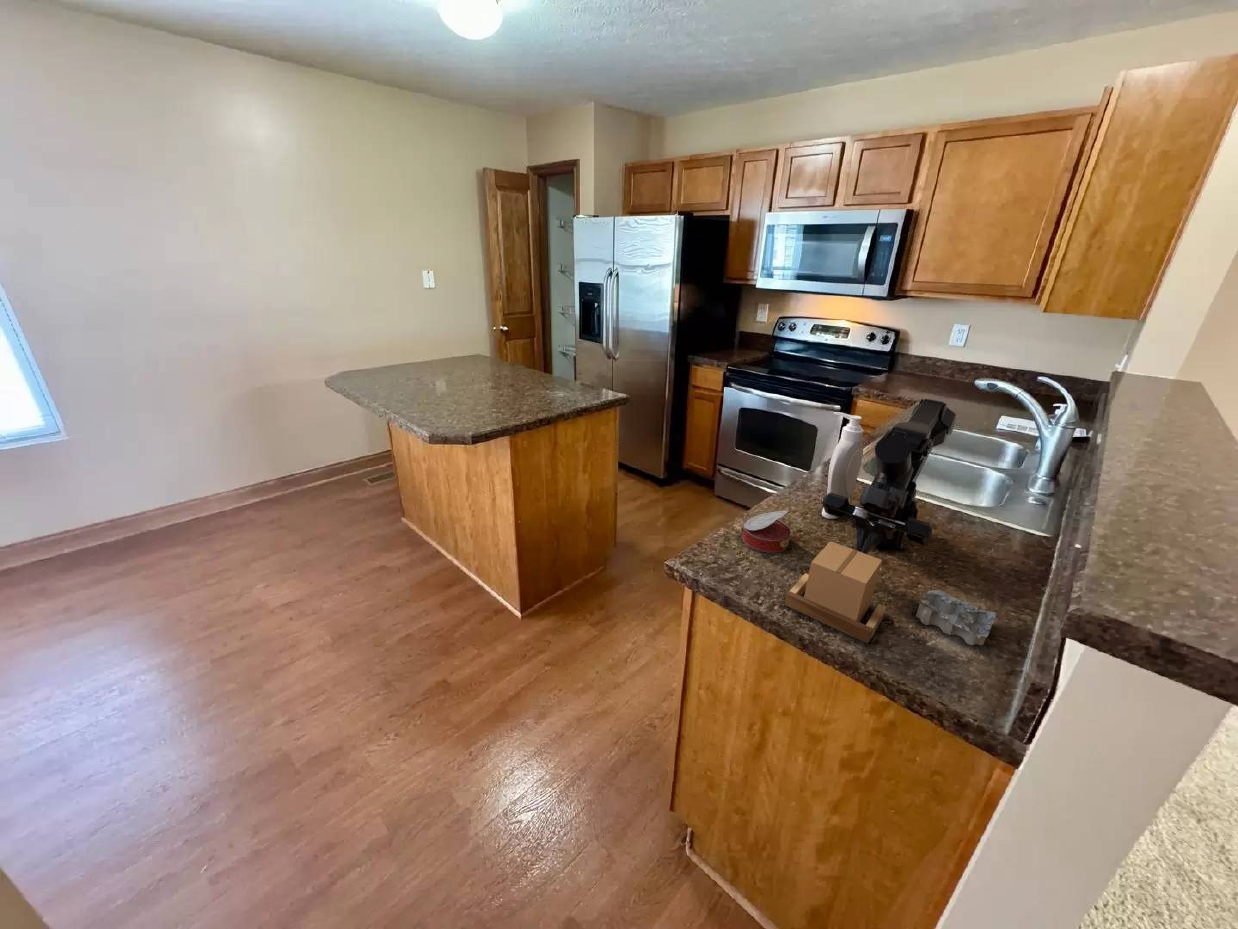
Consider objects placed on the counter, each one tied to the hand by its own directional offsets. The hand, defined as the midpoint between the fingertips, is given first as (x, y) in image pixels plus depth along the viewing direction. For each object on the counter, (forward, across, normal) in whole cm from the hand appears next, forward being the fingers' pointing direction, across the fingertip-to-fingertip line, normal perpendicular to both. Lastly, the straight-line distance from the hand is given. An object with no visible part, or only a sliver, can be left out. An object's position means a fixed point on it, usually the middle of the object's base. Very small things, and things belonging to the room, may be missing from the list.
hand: (858, 558), depth 95 cm
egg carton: (+4, +16, +5) cm, 18 cm away
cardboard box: (+10, 0, -1) cm, 10 cm away
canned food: (+2, -20, +8) cm, 21 cm away
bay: (+11, 0, -2) cm, 11 cm away
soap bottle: (-15, -14, +25) cm, 32 cm away
